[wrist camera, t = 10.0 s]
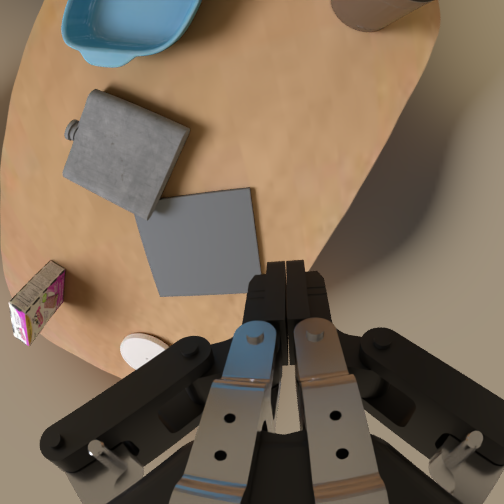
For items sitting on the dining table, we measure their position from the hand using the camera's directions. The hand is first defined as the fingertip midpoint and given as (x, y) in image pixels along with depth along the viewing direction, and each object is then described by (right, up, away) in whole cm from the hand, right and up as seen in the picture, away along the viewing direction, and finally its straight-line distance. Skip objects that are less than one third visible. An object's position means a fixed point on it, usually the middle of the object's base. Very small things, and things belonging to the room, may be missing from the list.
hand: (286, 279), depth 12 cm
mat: (-10, +2, +39) cm, 40 cm away
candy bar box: (-46, -6, +46) cm, 65 cm away
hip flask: (-14, +13, +31) cm, 36 cm away
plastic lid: (-26, -22, +54) cm, 64 cm away
